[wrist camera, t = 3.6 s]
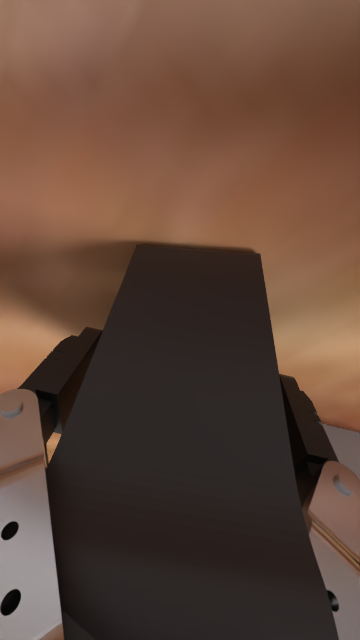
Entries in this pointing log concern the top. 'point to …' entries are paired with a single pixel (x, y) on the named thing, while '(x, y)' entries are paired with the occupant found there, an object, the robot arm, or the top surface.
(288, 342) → the top surface
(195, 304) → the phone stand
